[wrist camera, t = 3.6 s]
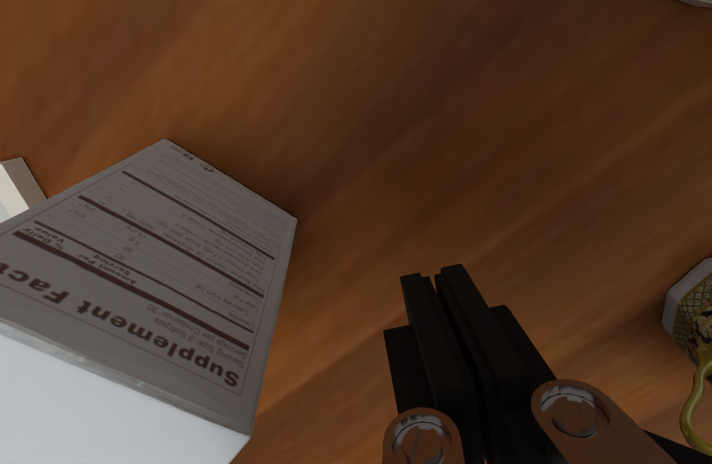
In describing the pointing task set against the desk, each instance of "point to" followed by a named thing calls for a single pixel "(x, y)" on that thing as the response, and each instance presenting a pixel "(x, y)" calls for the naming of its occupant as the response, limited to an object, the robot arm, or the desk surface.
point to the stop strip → (18, 187)
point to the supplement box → (139, 315)
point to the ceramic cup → (692, 337)
